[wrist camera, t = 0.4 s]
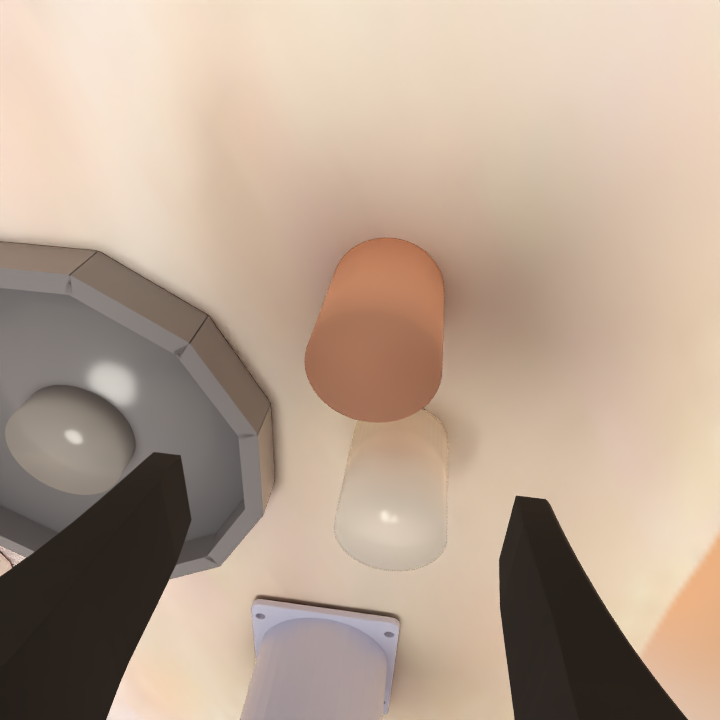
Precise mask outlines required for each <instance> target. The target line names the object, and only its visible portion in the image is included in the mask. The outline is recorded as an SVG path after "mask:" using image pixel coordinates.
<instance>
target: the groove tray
mask: <svg viewBox="0 0 720 720" xmlns="http://www.w3.org/2000/svg"><path fill="white" fill-rule="evenodd" d="M207 316H208V315H207V314H205V313H203V312H201V311H200V310H198V309H196V308H195V307H193V306H191V305H190V304H188V303H186V302H184V301H183V300H181V299H179V298H178V297H176V296H174V295H172V294H171V293H169V292H167V291H166V290H164V289H162V288H160V287H159V286H157V285H155V284H154V283H152V282H150V281H149V280H147V279H145V278H143V277H142V276H140V275H138V274H137V273H135V272H133V271H131V270H130V269H128V268H126V267H125V266H123V265H121V264H120V263H118V262H116V261H114V260H113V259H111V258H109V257H108V256H106V255H104V254H102V253H101V252H97V251H93V250H83V249H72V248H62V247H51V246H41V245H30V244H20V243H9V242H0V546H2V547H4V548H6V549H9V550H11V551H13V552H15V553H17V554H20V555H22V556H24V557H26V558H27V557H28V556H30V555H31V554H32V553H34V552H35V551H36V550H38V549H39V548H40V547H41V546H43V545H44V544H45V543H47V542H48V541H49V540H50V539H52V538H53V537H54V536H56V535H57V534H58V533H59V532H61V531H62V530H63V529H65V528H66V527H67V526H68V525H70V524H71V523H72V522H73V521H75V520H76V519H77V518H78V517H79V516H80V515H82V514H83V513H84V512H85V511H86V510H88V509H89V508H90V507H91V506H92V505H93V504H95V503H96V502H97V501H98V500H99V499H101V498H102V497H103V496H104V495H105V494H106V493H107V492H109V491H110V490H111V489H112V488H113V487H114V486H115V485H117V484H118V483H119V482H120V481H121V480H122V479H123V478H125V477H126V476H127V475H128V474H129V473H130V472H131V471H132V470H134V469H135V468H136V467H137V466H138V465H139V464H140V463H141V462H143V461H144V460H145V459H146V458H147V457H148V456H150V455H151V454H152V453H153V452H159V453H167V454H175V455H181V459H182V465H183V471H184V477H185V483H186V489H187V495H188V501H189V507H190V513H191V519H192V520H191V523H190V526H189V529H188V532H187V535H186V538H185V541H184V544H183V547H182V550H181V553H180V556H179V558H178V561H177V564H176V566H175V568H174V570H173V572H172V575H171V577H170V579H173V578H177V577H180V576H184V575H188V574H192V573H196V572H200V571H204V570H208V569H212V568H216V567H220V566H221V565H222V563H223V562H224V561H225V560H226V559H227V558H228V556H229V555H230V554H231V553H232V552H233V550H234V549H235V548H236V547H237V546H238V545H239V543H240V542H241V541H242V540H243V539H244V537H245V536H246V535H247V534H248V533H249V532H250V530H251V529H252V528H253V527H254V526H255V524H256V523H257V522H258V521H259V520H260V519H261V517H262V516H263V514H264V511H265V508H266V506H267V503H268V500H269V497H270V494H271V491H272V488H273V485H274V482H275V478H274V458H273V438H272V419H271V404H270V402H269V400H268V399H267V397H266V396H265V395H264V393H263V392H262V390H261V389H260V388H259V386H258V385H257V383H256V382H255V381H254V379H253V378H252V376H251V375H250V373H249V372H248V371H247V369H246V368H245V366H244V365H243V364H242V362H241V361H240V359H239V358H238V357H237V355H236V354H235V352H234V351H233V350H232V348H231V347H230V345H229V344H228V342H227V341H226V340H225V338H224V337H223V335H222V334H221V333H220V331H219V330H218V328H217V327H216V326H215V324H214V323H213V321H212V320H211V319H210V317H209V316H208V317H207Z"/></svg>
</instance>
